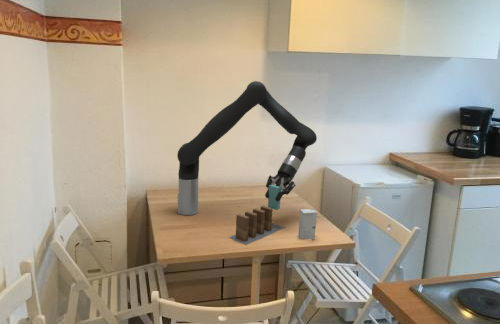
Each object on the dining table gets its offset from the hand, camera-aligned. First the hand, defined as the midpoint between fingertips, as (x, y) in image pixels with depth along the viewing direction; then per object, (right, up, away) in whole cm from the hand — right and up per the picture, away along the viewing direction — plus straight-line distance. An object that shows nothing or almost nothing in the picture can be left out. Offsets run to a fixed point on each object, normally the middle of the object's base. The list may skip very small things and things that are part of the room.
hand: (271, 198), depth 183 cm
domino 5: (+1, -4, +3) cm, 5 cm away
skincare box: (+14, -16, -5) cm, 22 cm away
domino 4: (-3, -13, +1) cm, 14 cm away
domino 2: (-9, -15, -6) cm, 19 cm away
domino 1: (-13, -16, -10) cm, 22 cm away
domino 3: (-6, -14, -3) cm, 16 cm away
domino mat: (-6, -15, -3) cm, 16 cm away
